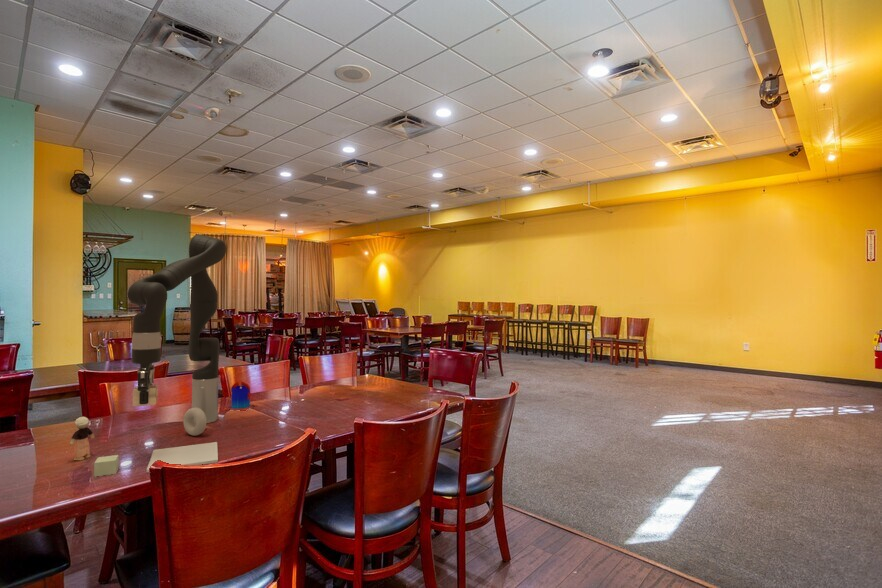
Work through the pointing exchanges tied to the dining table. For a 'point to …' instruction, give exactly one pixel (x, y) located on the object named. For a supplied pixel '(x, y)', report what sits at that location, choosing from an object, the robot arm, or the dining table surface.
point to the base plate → (187, 455)
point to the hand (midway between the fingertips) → (145, 401)
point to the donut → (189, 421)
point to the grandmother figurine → (81, 439)
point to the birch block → (152, 396)
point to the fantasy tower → (240, 397)
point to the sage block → (106, 465)
